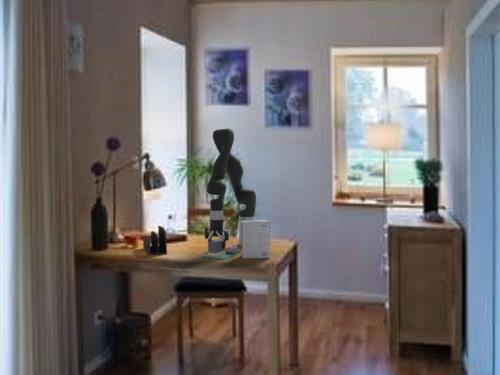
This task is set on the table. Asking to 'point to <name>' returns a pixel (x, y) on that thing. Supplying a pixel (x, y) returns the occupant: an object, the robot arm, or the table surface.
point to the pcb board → (224, 253)
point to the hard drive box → (255, 238)
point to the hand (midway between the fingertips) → (216, 247)
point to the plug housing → (215, 246)
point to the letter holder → (156, 243)
